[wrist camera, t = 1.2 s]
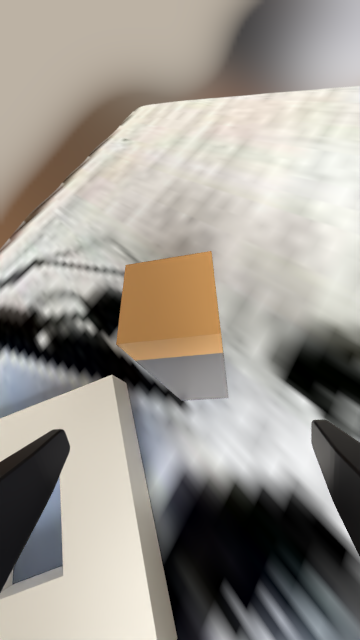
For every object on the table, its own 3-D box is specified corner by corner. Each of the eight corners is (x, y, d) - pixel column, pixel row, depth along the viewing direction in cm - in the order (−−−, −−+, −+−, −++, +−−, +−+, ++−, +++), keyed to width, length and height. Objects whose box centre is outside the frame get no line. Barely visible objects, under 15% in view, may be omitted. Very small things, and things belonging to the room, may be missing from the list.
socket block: (177, 637, 14) (164, 681, 11) (-69, 727, 14) (-137, 791, 11) (126, 383, 22) (112, 374, 19) (-29, 443, 22) (-63, 442, 20)
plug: (228, 397, 19) (220, 333, 8) (181, 400, 20) (116, 344, 9) (223, 352, 21) (211, 251, 10) (180, 356, 22) (125, 265, 11)
